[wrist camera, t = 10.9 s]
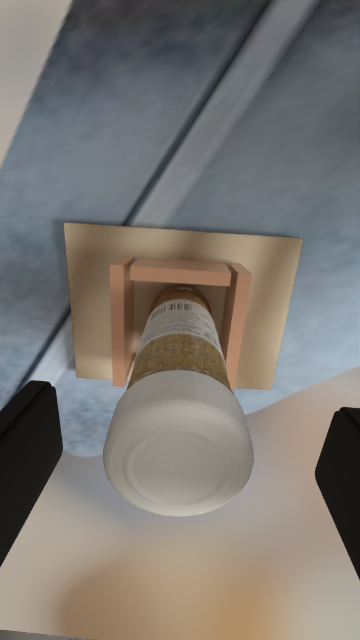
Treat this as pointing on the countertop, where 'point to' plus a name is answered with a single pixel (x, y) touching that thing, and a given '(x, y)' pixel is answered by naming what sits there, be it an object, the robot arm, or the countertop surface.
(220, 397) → the sprinkles bottle
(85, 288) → the stand board
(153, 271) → the collar
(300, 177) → the countertop surface
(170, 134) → the countertop surface
